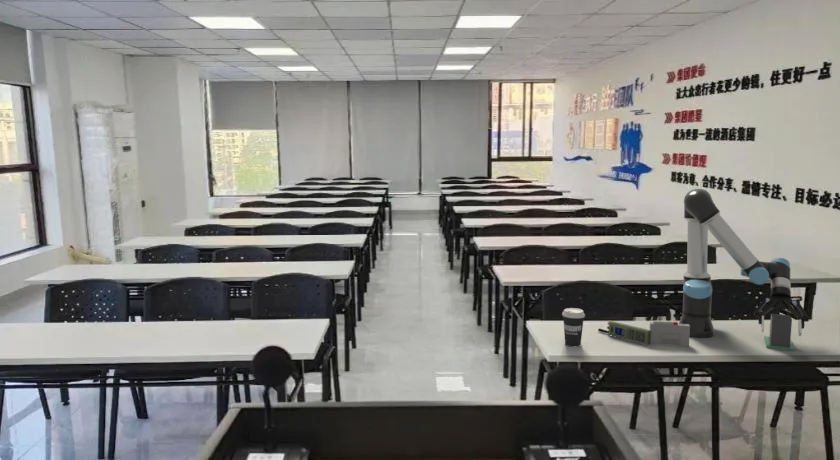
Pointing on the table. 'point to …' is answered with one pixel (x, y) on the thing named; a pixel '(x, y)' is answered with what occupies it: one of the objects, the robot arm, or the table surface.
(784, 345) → the block
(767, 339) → the header board
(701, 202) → the robot arm
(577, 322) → the coffee cup
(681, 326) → the cassette player
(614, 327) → the handheld radio
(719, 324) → the table surface
